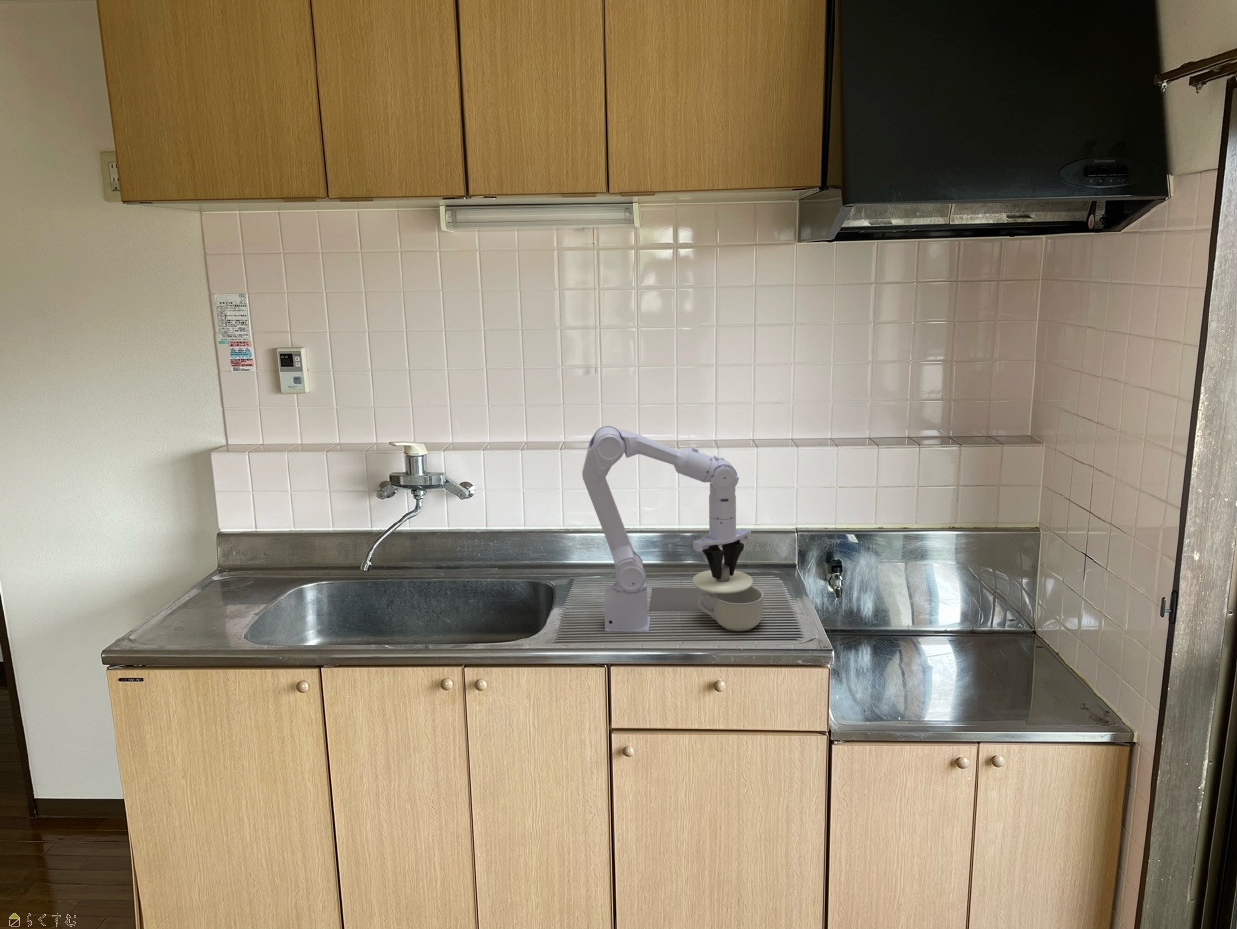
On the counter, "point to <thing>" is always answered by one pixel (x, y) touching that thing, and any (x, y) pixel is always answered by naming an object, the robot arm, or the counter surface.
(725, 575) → the lid
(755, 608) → the teacup
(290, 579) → the counter surface
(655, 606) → the mat
